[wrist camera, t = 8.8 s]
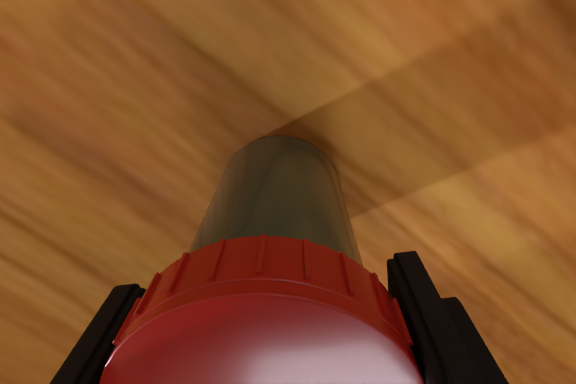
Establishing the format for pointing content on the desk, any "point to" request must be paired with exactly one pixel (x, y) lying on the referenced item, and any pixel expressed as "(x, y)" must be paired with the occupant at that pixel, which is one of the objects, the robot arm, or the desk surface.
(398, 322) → the jam lid
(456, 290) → the desk surface
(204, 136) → the desk surface
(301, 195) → the jam jar
